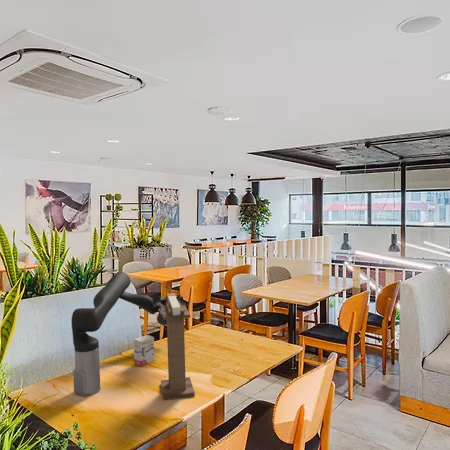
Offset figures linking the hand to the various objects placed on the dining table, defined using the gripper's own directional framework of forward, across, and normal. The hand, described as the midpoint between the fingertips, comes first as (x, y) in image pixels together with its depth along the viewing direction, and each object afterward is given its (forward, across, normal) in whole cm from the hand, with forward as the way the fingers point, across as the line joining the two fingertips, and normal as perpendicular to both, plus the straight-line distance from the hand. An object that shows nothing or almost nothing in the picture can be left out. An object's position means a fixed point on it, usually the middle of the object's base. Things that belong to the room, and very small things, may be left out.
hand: (168, 297), depth 182 cm
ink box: (-19, -12, +25) cm, 34 cm away
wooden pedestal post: (+9, 0, +41) cm, 42 cm away
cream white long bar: (+20, 0, +10) cm, 23 cm away
